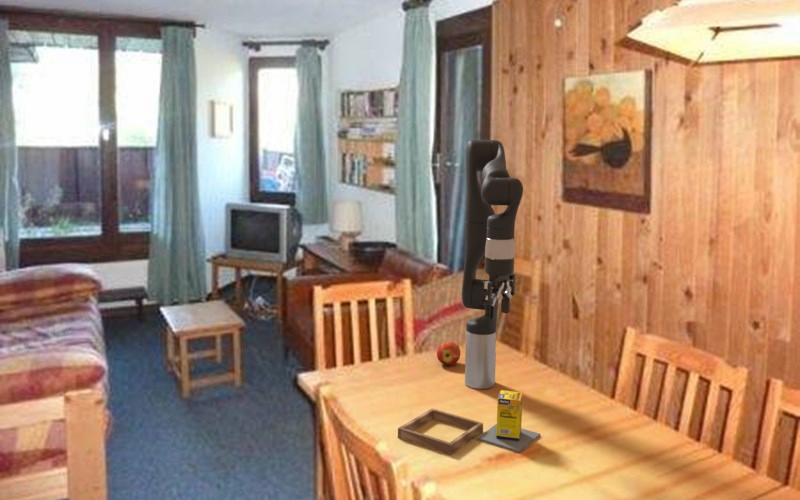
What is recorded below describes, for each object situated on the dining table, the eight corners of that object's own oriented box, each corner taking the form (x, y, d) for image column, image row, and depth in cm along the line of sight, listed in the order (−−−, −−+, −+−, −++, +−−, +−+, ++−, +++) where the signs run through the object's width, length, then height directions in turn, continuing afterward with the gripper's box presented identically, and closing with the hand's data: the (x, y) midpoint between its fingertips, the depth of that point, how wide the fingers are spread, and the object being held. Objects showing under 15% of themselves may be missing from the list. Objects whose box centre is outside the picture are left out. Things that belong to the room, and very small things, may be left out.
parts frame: (432, 417, 189) (432, 408, 189) (483, 432, 180) (483, 423, 179) (397, 437, 176) (397, 428, 176) (450, 454, 167) (450, 445, 167)
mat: (499, 424, 185) (499, 422, 185) (540, 435, 178) (540, 433, 178) (476, 439, 175) (476, 437, 175) (519, 452, 168) (519, 450, 168)
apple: (435, 367, 229) (435, 344, 227) (438, 359, 237) (438, 337, 236) (459, 369, 227) (459, 346, 226) (461, 361, 236) (461, 338, 234)
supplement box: (519, 441, 173) (521, 400, 171) (495, 438, 175) (497, 398, 173) (521, 431, 179) (523, 392, 177) (498, 429, 180) (500, 389, 178)
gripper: (499, 250, 185) (497, 308, 187) (473, 257, 173) (471, 319, 176) (525, 253, 180) (522, 313, 183) (499, 261, 169) (497, 324, 172)
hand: (497, 316), depth 179 cm, fingers open, 8 cm apart
